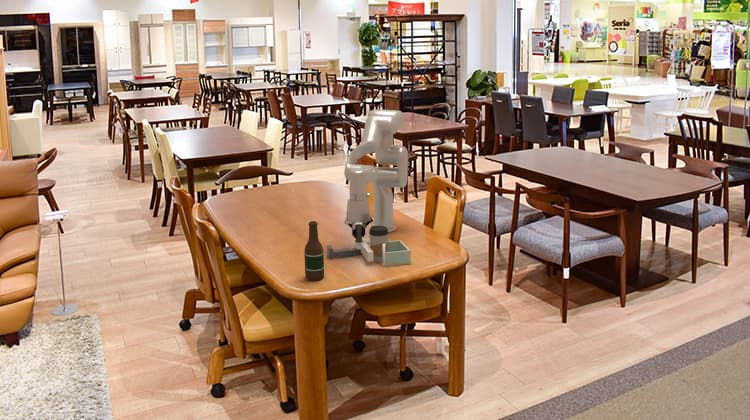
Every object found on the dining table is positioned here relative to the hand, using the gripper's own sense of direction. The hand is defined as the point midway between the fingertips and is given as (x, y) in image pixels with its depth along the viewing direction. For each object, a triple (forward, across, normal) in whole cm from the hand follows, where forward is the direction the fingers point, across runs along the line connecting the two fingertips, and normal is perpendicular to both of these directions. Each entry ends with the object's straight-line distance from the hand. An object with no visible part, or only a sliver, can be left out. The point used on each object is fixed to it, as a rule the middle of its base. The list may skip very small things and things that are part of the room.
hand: (358, 236), depth 311 cm
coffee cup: (+9, -7, +10) cm, 15 cm away
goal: (+9, -12, +10) cm, 18 cm away
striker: (+7, -2, +7) cm, 9 cm away
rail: (+9, 0, 0) cm, 9 cm away
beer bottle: (+9, +24, +22) cm, 34 cm away
